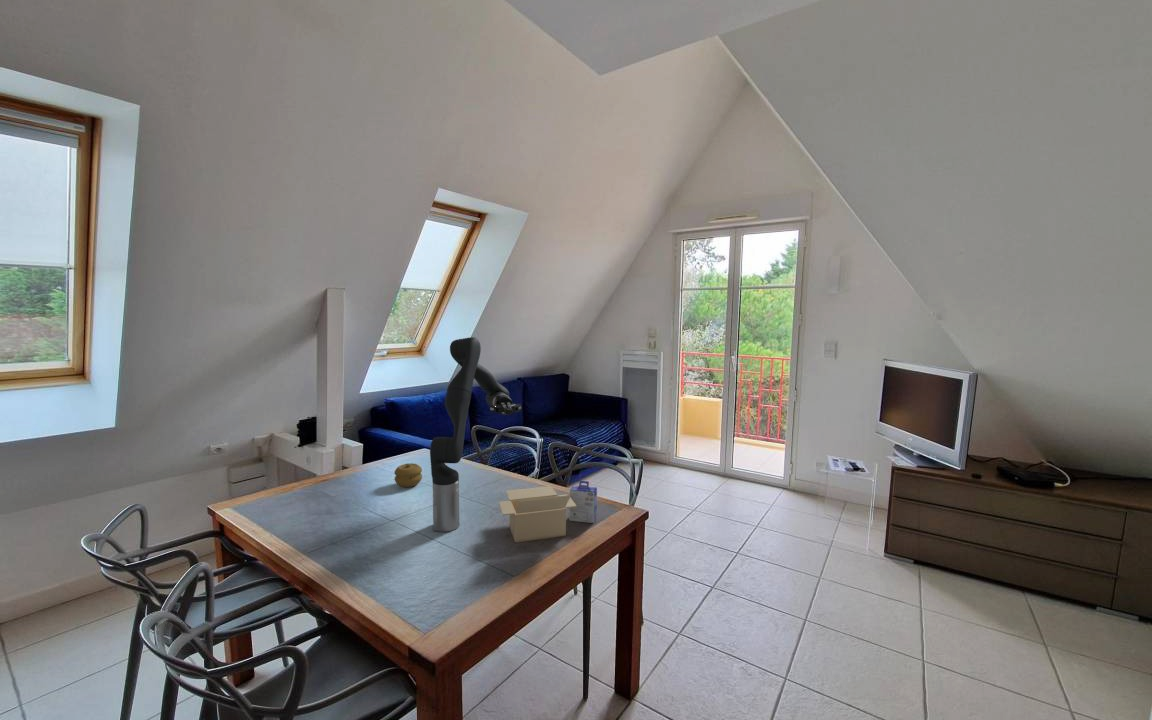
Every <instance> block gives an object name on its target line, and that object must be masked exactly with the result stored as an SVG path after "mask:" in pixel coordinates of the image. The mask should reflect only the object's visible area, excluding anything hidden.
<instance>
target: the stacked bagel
mask: <svg viewBox="0 0 1152 720" xmlns="http://www.w3.org/2000/svg"><path fill="white" fill-rule="evenodd" d="M422 471H423V469H422V467H421V466H420V465H419V464H418V463H417V464H416V463H413V462H412V463H408V462H407V463H404V464H400V465H398V467H396V469H395V470H394V481H395V483H396V484H397V485H398V486H399V487H402V488H412V487H414V486H417V485H418V484H419V483H420V482H422V481H421V480H422V479H423V474H422Z"/></svg>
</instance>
